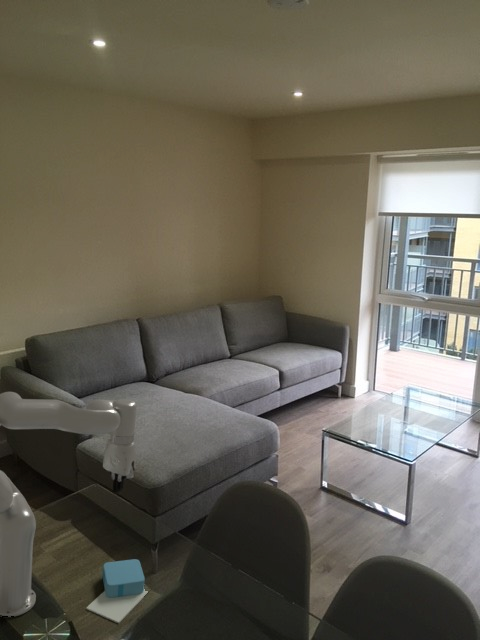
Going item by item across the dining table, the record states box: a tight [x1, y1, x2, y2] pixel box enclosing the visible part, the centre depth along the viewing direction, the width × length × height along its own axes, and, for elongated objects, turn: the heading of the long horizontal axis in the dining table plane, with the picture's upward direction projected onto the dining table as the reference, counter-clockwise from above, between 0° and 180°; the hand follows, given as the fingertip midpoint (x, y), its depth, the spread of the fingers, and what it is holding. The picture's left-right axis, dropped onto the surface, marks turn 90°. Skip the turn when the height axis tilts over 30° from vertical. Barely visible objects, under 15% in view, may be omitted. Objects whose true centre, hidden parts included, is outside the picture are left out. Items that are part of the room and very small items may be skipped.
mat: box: [85, 589, 149, 624], centre depth 169 cm, size 12×18×1 cm, turn 157°
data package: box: [102, 558, 146, 598], centre depth 175 cm, size 12×4×12 cm
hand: (117, 490), depth 176 cm, fingers closed
